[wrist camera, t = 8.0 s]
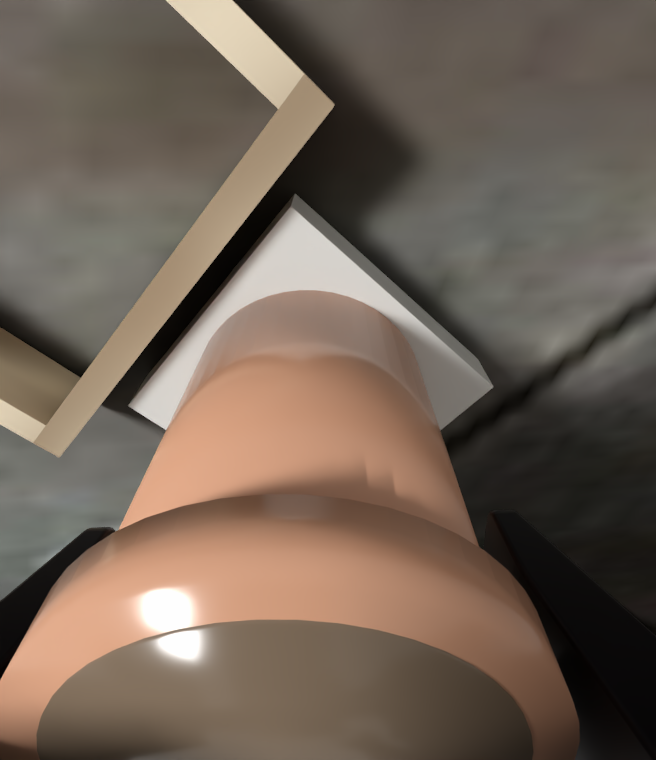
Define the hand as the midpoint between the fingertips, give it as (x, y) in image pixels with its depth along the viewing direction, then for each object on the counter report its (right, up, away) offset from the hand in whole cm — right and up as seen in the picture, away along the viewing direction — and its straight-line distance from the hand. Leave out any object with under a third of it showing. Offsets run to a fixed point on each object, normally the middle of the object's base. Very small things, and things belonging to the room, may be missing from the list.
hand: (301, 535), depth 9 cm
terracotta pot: (0, +2, +4) cm, 5 cm away
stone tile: (0, +3, +5) cm, 6 cm away
